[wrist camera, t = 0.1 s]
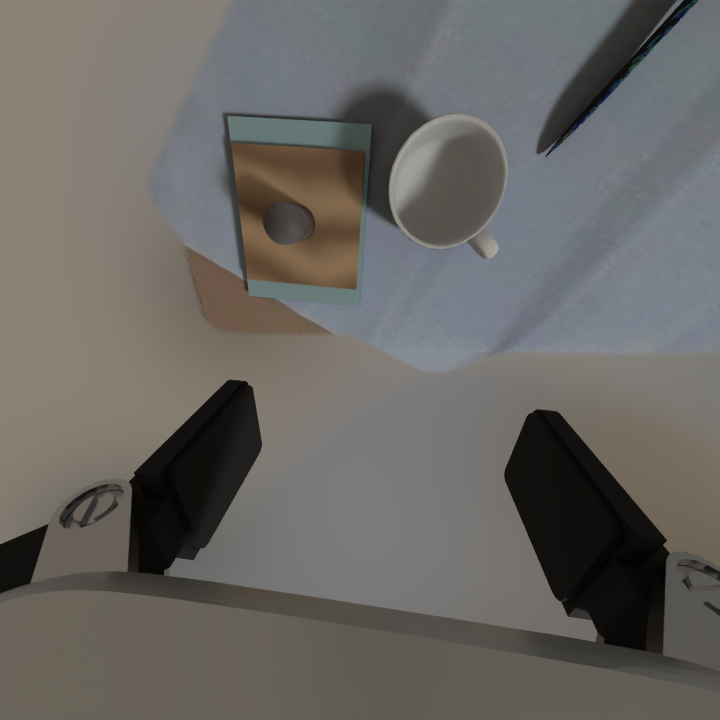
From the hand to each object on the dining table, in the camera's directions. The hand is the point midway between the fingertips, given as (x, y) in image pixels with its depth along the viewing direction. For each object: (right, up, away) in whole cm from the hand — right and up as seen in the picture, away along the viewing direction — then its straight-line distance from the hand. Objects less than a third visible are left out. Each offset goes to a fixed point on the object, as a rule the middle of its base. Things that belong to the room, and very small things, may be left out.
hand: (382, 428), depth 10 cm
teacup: (+9, +21, +24) cm, 33 cm away
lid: (-8, +20, +25) cm, 33 cm away
